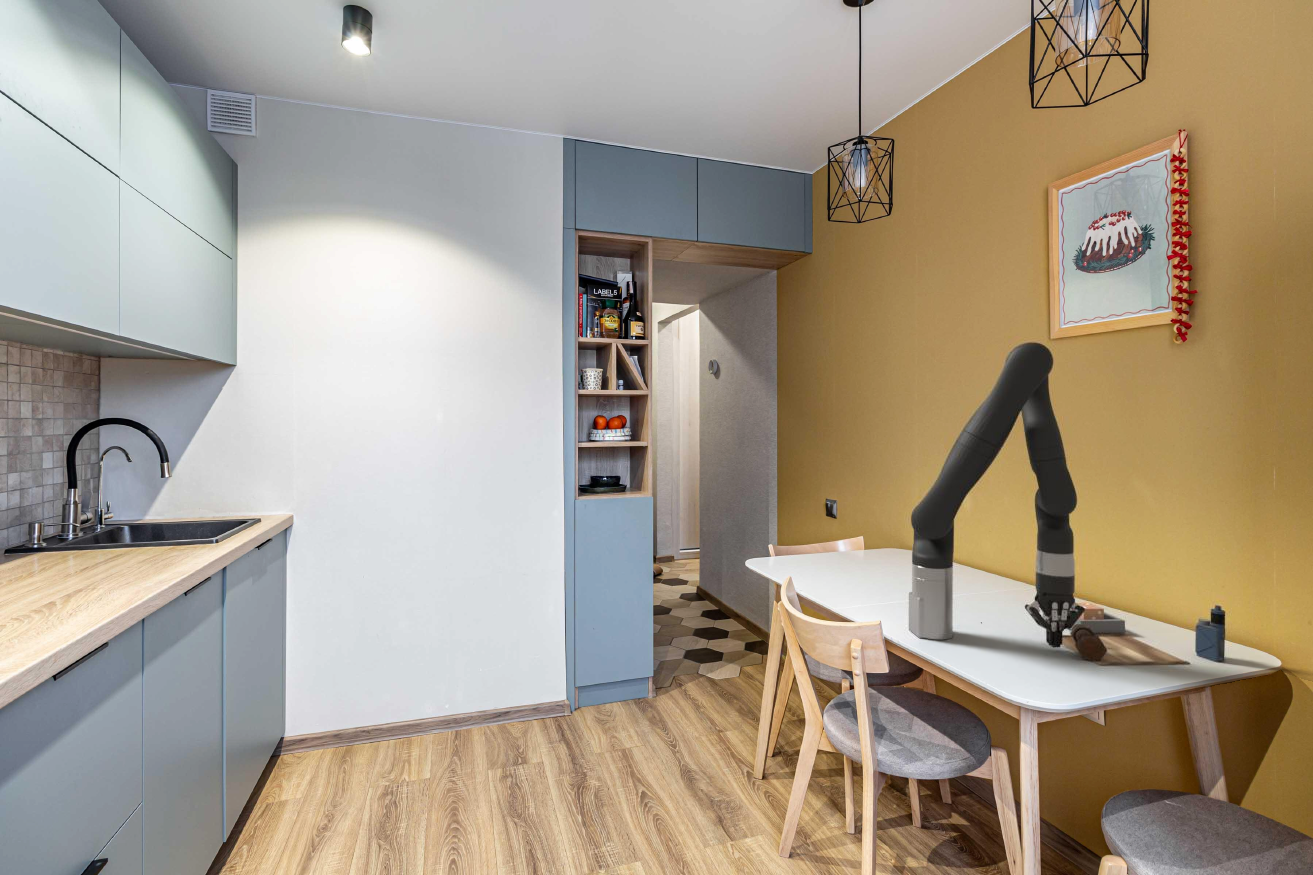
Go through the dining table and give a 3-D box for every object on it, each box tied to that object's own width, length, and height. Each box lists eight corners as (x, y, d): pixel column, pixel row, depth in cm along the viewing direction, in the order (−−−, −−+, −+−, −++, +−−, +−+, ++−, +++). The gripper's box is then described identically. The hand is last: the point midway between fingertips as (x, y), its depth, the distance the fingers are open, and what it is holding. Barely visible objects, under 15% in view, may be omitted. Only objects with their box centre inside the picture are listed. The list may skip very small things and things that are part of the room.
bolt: (1083, 646, 148) (1095, 666, 134) (1061, 633, 150) (1071, 651, 136) (1098, 626, 147) (1111, 645, 133) (1076, 613, 149) (1087, 630, 135)
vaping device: (1219, 663, 133) (1220, 608, 133) (1192, 654, 138) (1193, 601, 138) (1227, 661, 134) (1228, 607, 134) (1200, 653, 139) (1201, 600, 139)
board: (1100, 665, 133) (1100, 663, 133) (1047, 636, 150) (1047, 635, 150) (1189, 663, 133) (1189, 662, 133) (1126, 635, 151) (1126, 634, 151)
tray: (1080, 635, 151) (1080, 621, 151) (1051, 620, 162) (1051, 607, 162) (1124, 634, 151) (1124, 620, 151) (1092, 620, 162) (1092, 607, 162)
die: (1083, 628, 154) (1084, 608, 154) (1070, 622, 159) (1070, 602, 159) (1103, 628, 154) (1104, 608, 154) (1089, 621, 159) (1089, 602, 159)
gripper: (1036, 575, 137) (1035, 652, 137) (1095, 574, 137) (1094, 651, 138) (1016, 567, 144) (1015, 640, 145) (1072, 566, 145) (1071, 640, 145)
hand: (1054, 646), depth 141 cm, fingers closed
